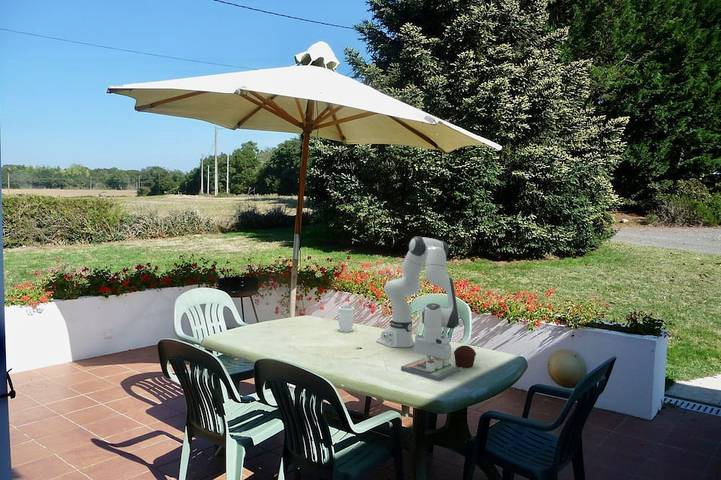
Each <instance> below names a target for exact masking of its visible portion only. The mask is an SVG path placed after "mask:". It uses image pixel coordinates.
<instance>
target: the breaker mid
mask: <svg viewBox="0 0 721 480" xmlns="http://www.w3.org/2000/svg"><path fill="white" fill-rule="evenodd" d="M434 362H435V368H436V369H440V368H442V359H440V358H435V359H434Z"/></svg>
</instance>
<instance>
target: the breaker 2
mask: <svg viewBox="0 0 721 480" xmlns="http://www.w3.org/2000/svg"><path fill="white" fill-rule="evenodd" d="M449 360H450V359H448V360H444V359H442V366H447V365H449V364H450V362H449Z"/></svg>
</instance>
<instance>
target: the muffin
mask: <svg viewBox="0 0 721 480" xmlns="http://www.w3.org/2000/svg"><path fill="white" fill-rule="evenodd" d="M453 354H454V355H453V356H454V363H455V367H459V368H460V369H472V368H473V367H474V364H475V363H474V362H475V359H476V355H477V352H476V351H475V349H474V348H473V347H471V346H468V345H459V346H458V347H457V348H455V350H454V351H453Z"/></svg>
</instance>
